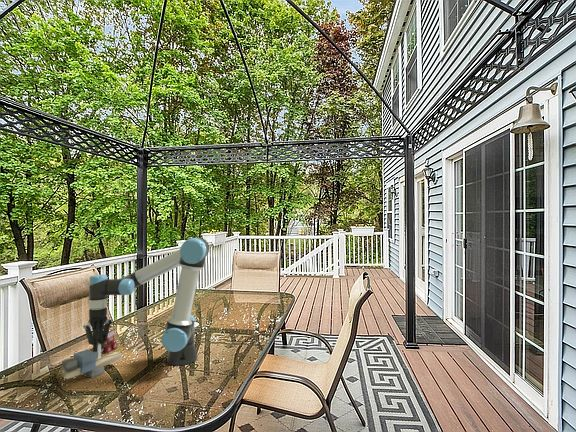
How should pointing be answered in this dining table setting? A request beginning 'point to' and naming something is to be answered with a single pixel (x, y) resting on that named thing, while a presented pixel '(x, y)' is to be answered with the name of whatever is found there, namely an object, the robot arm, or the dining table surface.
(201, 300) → the dining table surface
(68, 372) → the beam
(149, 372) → the dining table surface
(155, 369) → the dining table surface
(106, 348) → the toy fire truck
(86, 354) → the grey block
